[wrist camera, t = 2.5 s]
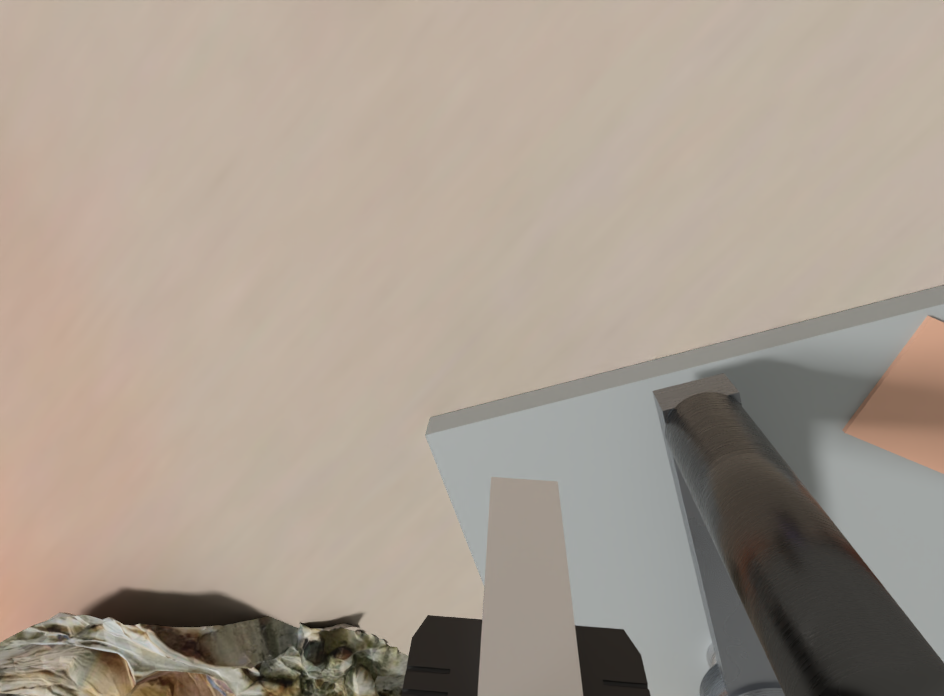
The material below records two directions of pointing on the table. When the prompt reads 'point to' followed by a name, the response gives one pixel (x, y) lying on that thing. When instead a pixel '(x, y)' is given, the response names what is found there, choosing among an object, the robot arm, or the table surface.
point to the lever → (779, 567)
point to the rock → (196, 660)
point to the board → (653, 490)
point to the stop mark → (908, 401)
